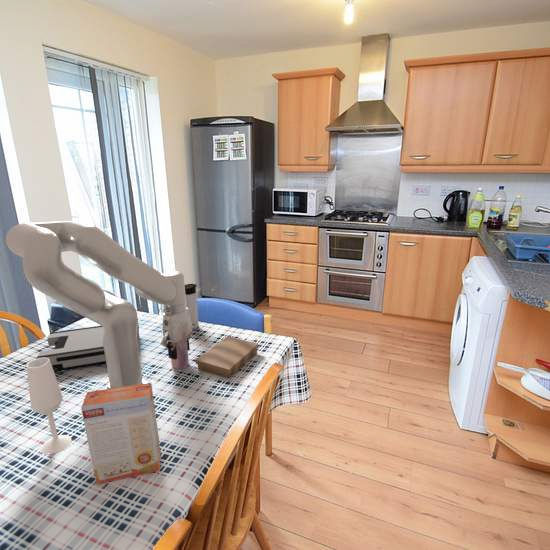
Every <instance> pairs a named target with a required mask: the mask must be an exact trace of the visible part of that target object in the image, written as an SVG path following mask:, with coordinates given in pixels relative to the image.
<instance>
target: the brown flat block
mask: <svg viewBox="0 0 550 550" xmlns="http://www.w3.org/2000/svg"><path fill="white" fill-rule="evenodd" d="M259 345H260V344H259V343H258V342H254V341H249V340H246V339H241V338H238V337H233V336H229V335H227V336H226V337H224V338H223V339H222V340H219V341H218V342H217V343H216V344H215V345H213V346H212V347H210V348H209V349H208V350H207V351H204V352H203V354H201V355H199V356H198V357H197V358H196V359H194V360H195V365H197V370H198V371H202V372H205V373H209V374H211V375H214V376H218V377H222V378H225V379H228V380H230V379H231V378H232V377H234V375H236V373H238V371H240V370H241V369H242V368H243V367H244V366H246V364H247V363H248V362H250V361H251V359H252V358H254V357H255V356H256V355H257V354H258V348H260V347H259Z"/></svg>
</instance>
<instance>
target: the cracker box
mask: <svg viewBox="0 0 550 550" xmlns="http://www.w3.org/2000/svg"><path fill="white" fill-rule="evenodd" d="M153 393H154V392H153V385H152V382H148V383H145V384H138V385H131V386H125V387H118V388H112V389H107V388H104V389H98V390H93V391H92V390H91V391H87V392H86V394H85V397H84V400H83V402H82V405H81V407H80V408H81V413H82V419H83V422H84V429H85V434H86V439H87V444H88V449H89V454H90V455H89V456H90V460H91V465H92V469H93V474H94V479H95V483H96V484H102V483H106V482H113V481H116V480H121V479H126V478H131V477H136V476H139V475H140V476H141V475H145V474H150V473H153V472H154V473H155V472H159V471H161V469H160V468H161V455H162V452H161V445H160V436H159V430H158V422H157V416H156V407H155V401H154V400H155V399H154V394H153Z"/></svg>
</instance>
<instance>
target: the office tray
mask: <svg viewBox="0 0 550 550" xmlns="http://www.w3.org/2000/svg"><path fill="white" fill-rule="evenodd" d="M103 338H104V328H103V326H101V325H95V326H88V327H81V328H75V329H73V328H72V329H66V330H59V331H58V330H57V331H51V332H50V333H49V334H48V336H47V344H48V346H49V347H53V346H54V348H53V349H48V350H41V351H39V353H38V354H37V357H36V358H35V359H37V358H43V357H46V358H49V359H50V362H51V365H52V368H53V370H54V369H56V372H57V371H60V372H63V371H62V370H66V371H71V370H70V369H72V370H77V368H78V369H82V368H83V369H84V368H90V367H95V366H101V365H106V358H105V353H104V347H103ZM137 341H138V348H139V349H140V327H139V318H138V317H137Z"/></svg>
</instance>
